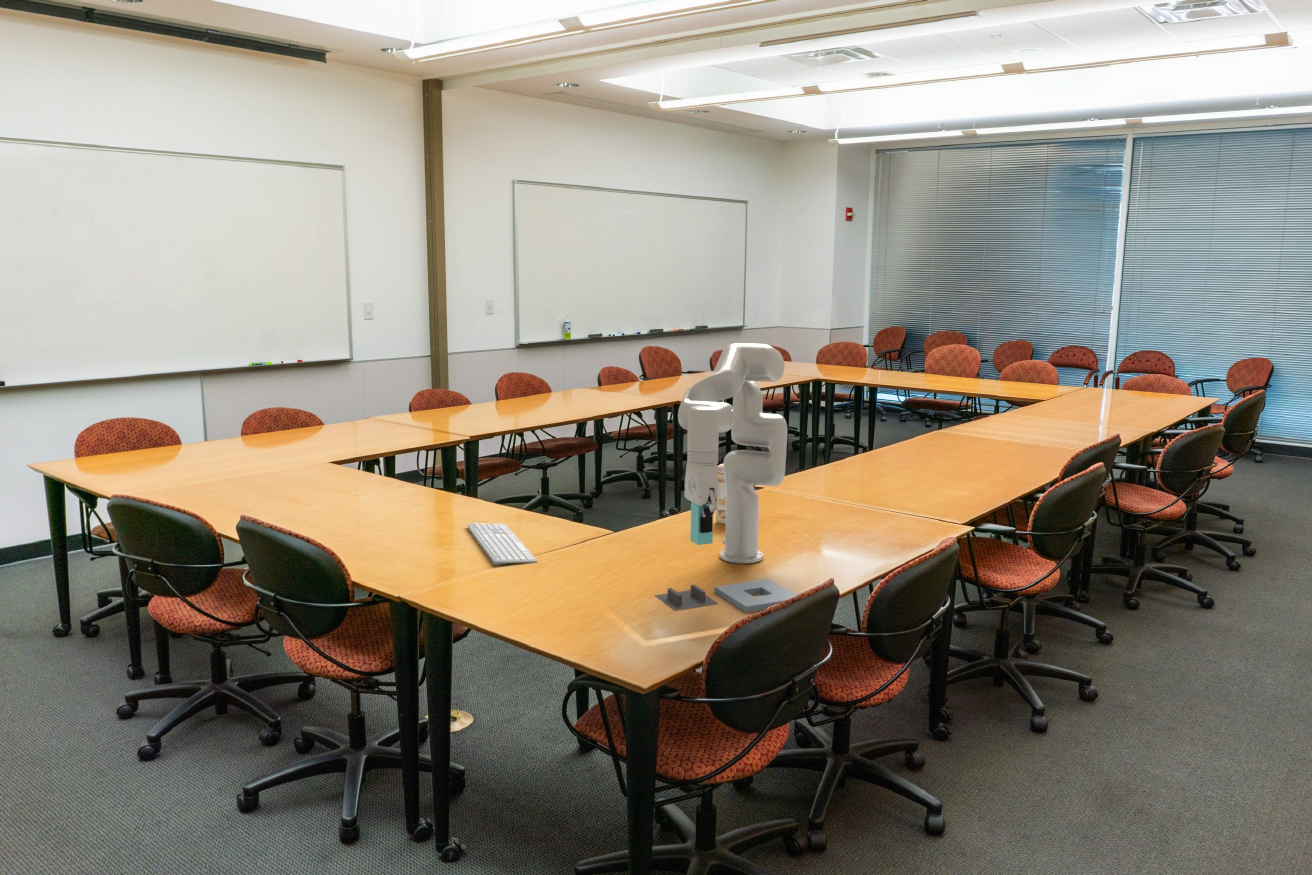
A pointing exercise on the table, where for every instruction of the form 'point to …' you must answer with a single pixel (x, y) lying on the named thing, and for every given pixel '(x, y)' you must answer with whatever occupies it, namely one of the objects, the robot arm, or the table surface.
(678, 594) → the dark grey holder stand
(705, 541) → the plug
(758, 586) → the plate
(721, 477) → the coffeecake box
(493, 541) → the keyboard
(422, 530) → the table surface
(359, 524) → the table surface
